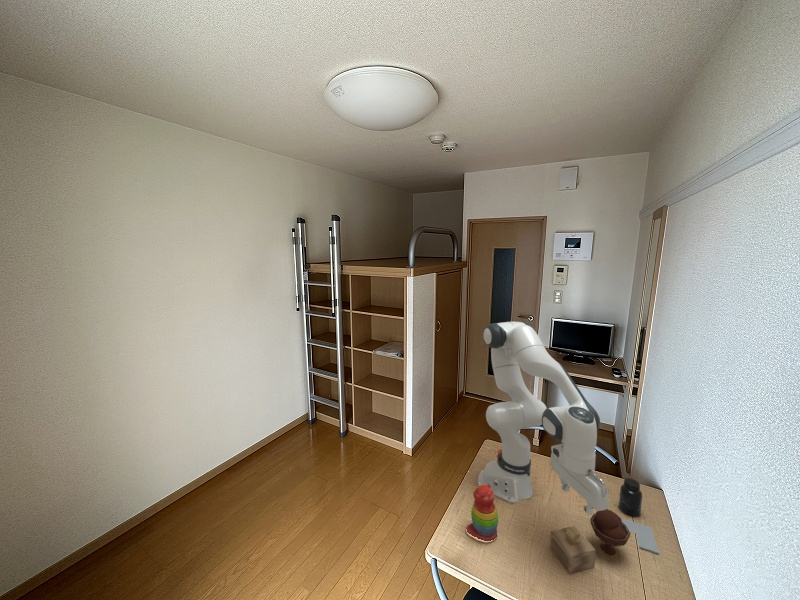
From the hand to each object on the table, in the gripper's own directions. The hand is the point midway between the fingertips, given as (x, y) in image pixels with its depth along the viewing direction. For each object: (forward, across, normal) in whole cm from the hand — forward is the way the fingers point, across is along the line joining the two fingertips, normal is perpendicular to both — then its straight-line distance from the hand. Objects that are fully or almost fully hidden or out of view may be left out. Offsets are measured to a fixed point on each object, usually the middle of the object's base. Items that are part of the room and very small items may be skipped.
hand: (576, 500), depth 100 cm
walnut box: (+21, 0, 0) cm, 21 cm away
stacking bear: (+22, +17, +23) cm, 36 cm away
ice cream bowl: (+22, 0, -13) cm, 25 cm away
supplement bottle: (+22, +12, -36) cm, 43 cm away
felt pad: (+21, +2, -28) cm, 35 cm away
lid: (+15, 0, 0) cm, 15 cm away
